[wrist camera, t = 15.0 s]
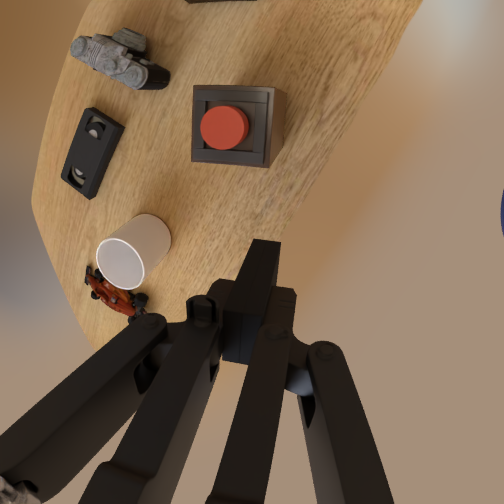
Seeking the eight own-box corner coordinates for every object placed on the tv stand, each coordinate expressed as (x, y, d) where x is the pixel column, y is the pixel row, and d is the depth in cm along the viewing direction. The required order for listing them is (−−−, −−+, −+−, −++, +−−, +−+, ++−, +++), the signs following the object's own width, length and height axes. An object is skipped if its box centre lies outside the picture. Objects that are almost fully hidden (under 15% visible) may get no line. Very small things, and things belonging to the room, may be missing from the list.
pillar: (287, 92, 41) (273, 87, 27) (282, 147, 44) (267, 170, 30) (230, 89, 42) (190, 84, 28) (227, 143, 45) (188, 163, 31)
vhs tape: (92, 106, 46) (85, 107, 44) (125, 127, 47) (118, 128, 45) (66, 174, 52) (59, 177, 50) (95, 196, 53) (89, 200, 51)
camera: (186, 56, 40) (155, 48, 32) (162, 94, 43) (128, 95, 35) (117, 21, 39) (79, 12, 30) (97, 56, 42) (58, 54, 33)
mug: (118, 255, 58) (87, 284, 48) (138, 203, 52) (103, 227, 43) (156, 279, 58) (129, 313, 49) (180, 229, 53) (152, 258, 43)
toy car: (89, 258, 60) (77, 268, 56) (157, 300, 61) (148, 313, 57) (84, 285, 63) (73, 296, 59) (147, 325, 64) (138, 338, 60)
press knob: (250, 106, 28) (245, 106, 26) (247, 148, 29) (243, 151, 28) (207, 104, 28) (201, 105, 26) (206, 145, 30) (199, 148, 28)
